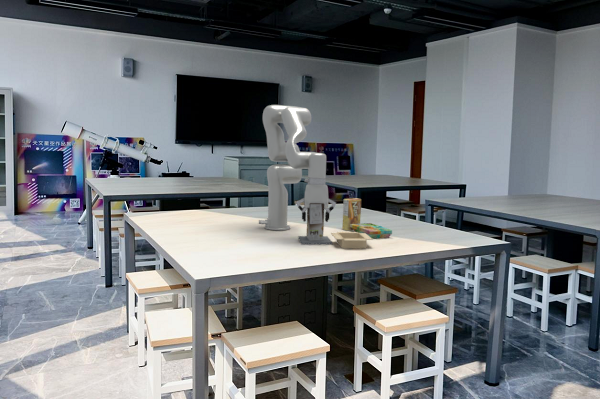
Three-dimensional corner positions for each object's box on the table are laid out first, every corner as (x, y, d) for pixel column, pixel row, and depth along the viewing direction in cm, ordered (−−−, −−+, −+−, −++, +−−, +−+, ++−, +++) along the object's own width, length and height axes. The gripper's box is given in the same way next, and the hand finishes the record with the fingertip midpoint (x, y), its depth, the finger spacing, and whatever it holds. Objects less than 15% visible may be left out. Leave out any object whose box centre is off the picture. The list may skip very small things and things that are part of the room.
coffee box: (323, 241, 213) (325, 203, 211) (308, 241, 212) (310, 203, 210) (320, 236, 222) (321, 201, 220) (305, 236, 221) (306, 200, 219)
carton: (336, 249, 202) (337, 239, 201) (329, 240, 220) (330, 231, 219) (373, 249, 203) (374, 239, 203) (363, 240, 221) (363, 231, 221)
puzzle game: (369, 229, 225) (350, 222, 244) (369, 239, 226) (349, 231, 244) (392, 228, 229) (371, 221, 248) (391, 238, 230) (370, 230, 248)
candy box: (354, 227, 254) (355, 198, 253) (360, 229, 251) (361, 198, 249) (341, 229, 249) (343, 198, 247) (347, 230, 246) (349, 199, 244)
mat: (301, 244, 210) (301, 241, 210) (298, 238, 223) (298, 236, 223) (332, 244, 211) (332, 242, 211) (327, 238, 224) (327, 236, 224)
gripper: (297, 182, 209) (296, 222, 211) (338, 183, 211) (336, 223, 213) (295, 180, 217) (294, 219, 219) (335, 181, 219) (333, 220, 221)
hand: (315, 221), depth 216 cm, fingers open, 9 cm apart
